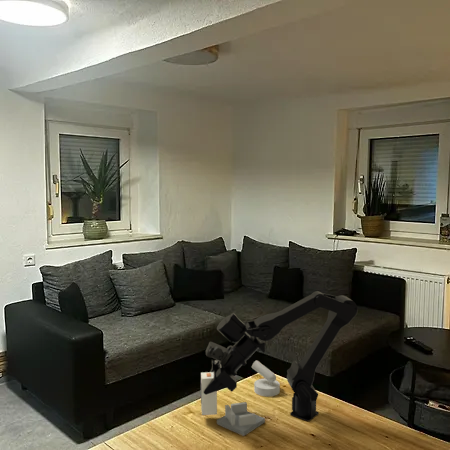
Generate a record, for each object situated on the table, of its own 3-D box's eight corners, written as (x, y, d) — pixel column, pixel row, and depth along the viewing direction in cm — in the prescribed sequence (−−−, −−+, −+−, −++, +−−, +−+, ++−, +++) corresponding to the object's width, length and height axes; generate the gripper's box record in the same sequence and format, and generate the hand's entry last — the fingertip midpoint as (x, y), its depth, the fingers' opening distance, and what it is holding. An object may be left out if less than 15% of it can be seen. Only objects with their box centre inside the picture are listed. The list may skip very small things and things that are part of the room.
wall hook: (259, 356, 163) (284, 362, 157) (259, 382, 164) (284, 389, 158) (245, 363, 156) (271, 370, 150) (245, 390, 157) (271, 399, 151)
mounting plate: (265, 421, 136) (265, 408, 136) (243, 436, 128) (243, 421, 128) (238, 410, 143) (238, 397, 142) (216, 423, 135) (216, 410, 135)
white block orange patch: (215, 407, 140) (215, 371, 139) (217, 414, 135) (216, 377, 134) (200, 408, 139) (200, 371, 138) (201, 415, 135) (201, 377, 134)
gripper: (219, 324, 145) (184, 360, 145) (224, 344, 126) (184, 385, 126) (244, 347, 146) (209, 383, 146) (253, 371, 128) (213, 411, 128)
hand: (204, 389), depth 137 cm, fingers closed on white block orange patch, 4 cm apart
